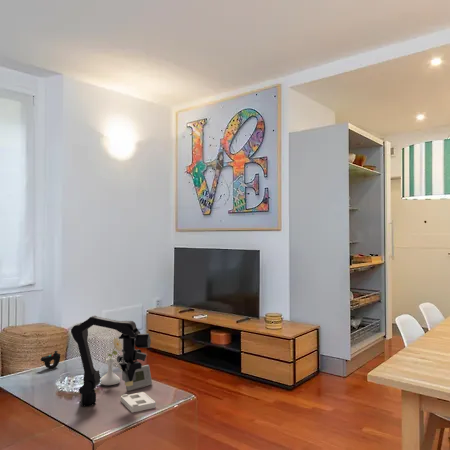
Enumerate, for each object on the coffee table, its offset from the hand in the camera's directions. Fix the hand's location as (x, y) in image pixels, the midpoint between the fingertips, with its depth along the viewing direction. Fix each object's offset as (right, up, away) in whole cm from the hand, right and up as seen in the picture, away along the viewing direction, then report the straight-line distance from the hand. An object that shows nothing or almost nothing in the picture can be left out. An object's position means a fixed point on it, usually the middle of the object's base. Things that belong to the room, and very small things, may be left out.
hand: (128, 379), depth 205 cm
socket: (+4, -13, +2) cm, 13 cm away
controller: (-61, -14, +55) cm, 84 cm away
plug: (0, -3, 0) cm, 2 cm away
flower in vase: (-17, -14, +31) cm, 38 cm away
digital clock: (-1, -14, +26) cm, 29 cm away
